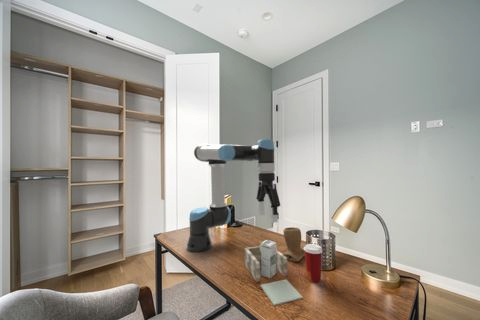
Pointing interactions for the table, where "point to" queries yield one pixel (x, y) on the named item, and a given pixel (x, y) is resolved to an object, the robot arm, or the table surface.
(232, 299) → the table surface
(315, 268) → the paper cup
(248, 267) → the cubby
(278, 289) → the mat
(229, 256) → the table surface
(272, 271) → the syrup box
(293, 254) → the brown boot
